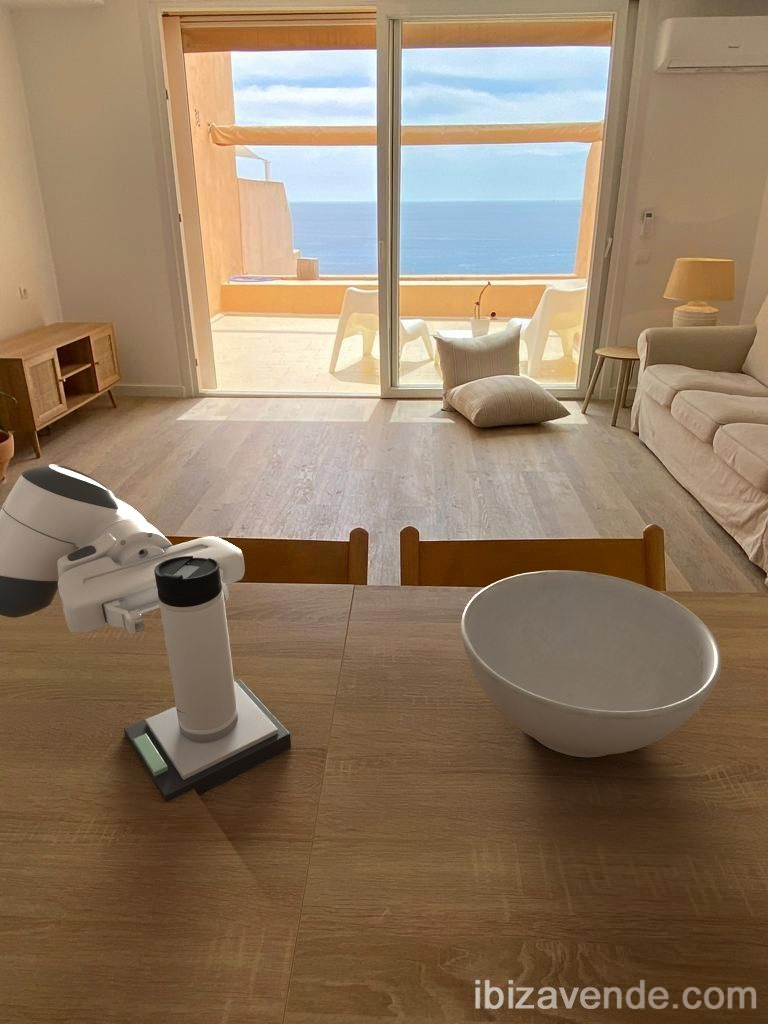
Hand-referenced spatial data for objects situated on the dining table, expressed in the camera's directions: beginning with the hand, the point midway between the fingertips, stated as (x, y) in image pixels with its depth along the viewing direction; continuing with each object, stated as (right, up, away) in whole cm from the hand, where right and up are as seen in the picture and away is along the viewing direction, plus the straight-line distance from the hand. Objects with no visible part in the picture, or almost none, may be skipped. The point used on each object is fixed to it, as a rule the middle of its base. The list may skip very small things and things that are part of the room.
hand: (181, 610), depth 73 cm
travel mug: (+2, -13, +2) cm, 13 cm away
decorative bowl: (+43, -14, +6) cm, 46 cm away
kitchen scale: (+2, -15, +3) cm, 16 cm away
